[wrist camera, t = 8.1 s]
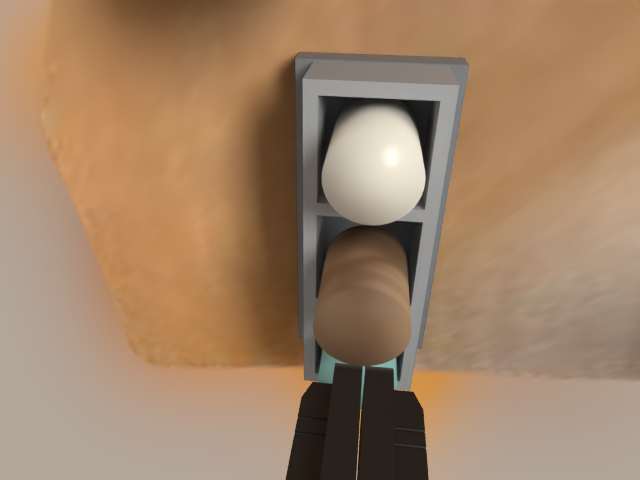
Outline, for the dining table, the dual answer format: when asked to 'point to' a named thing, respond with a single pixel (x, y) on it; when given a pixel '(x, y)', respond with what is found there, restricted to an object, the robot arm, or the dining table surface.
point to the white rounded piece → (374, 162)
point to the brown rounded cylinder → (364, 298)
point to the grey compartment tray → (311, 149)
